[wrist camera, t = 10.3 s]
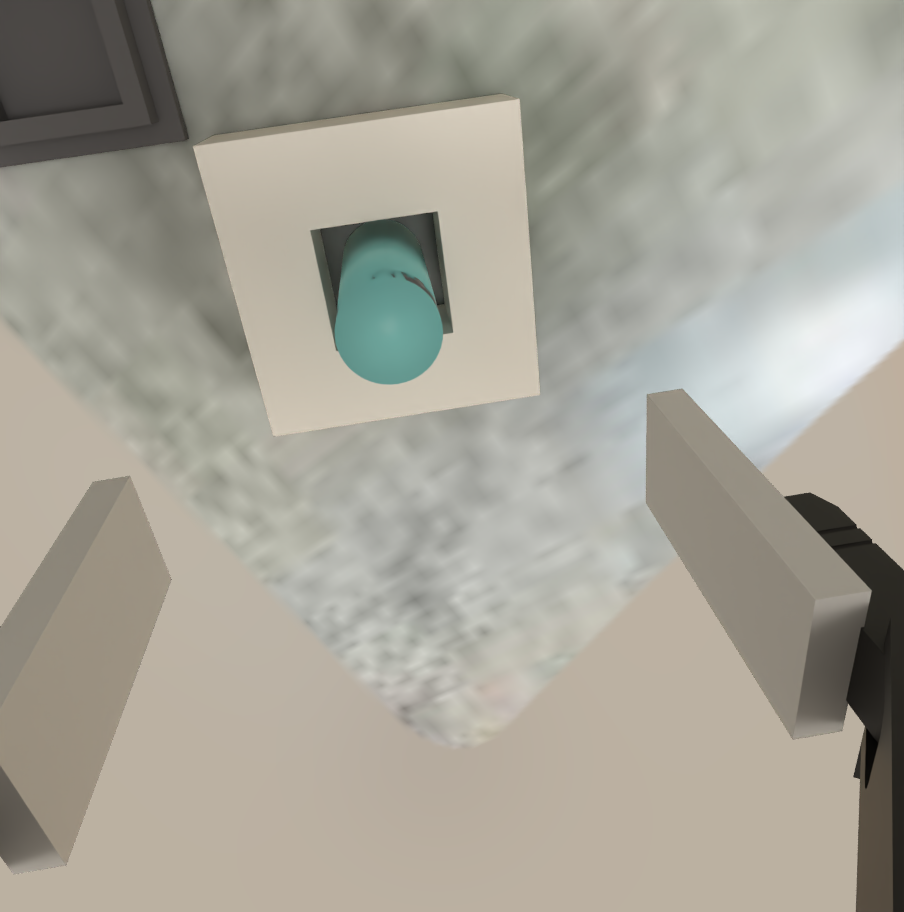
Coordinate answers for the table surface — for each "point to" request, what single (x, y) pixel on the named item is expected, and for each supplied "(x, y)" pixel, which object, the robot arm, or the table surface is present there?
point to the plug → (386, 305)
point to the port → (369, 199)
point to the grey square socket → (82, 80)
